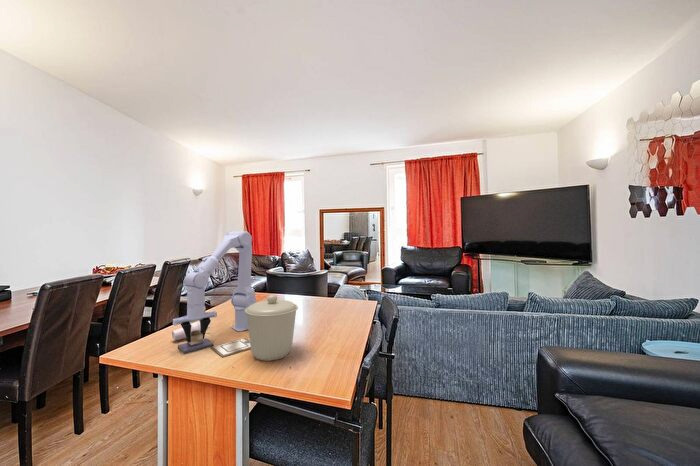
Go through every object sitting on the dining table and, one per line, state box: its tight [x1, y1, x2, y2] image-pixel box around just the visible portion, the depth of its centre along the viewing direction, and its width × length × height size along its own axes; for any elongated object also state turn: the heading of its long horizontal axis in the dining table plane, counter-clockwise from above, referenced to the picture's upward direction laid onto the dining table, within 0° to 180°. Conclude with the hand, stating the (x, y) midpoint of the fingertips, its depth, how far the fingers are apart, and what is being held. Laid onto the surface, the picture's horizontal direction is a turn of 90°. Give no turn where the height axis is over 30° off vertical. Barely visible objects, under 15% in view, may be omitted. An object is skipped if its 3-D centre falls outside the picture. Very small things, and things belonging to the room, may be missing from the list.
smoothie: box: [171, 320, 212, 341], centre depth 113 cm, size 6×6×14 cm
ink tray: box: [177, 337, 214, 355], centre depth 103 cm, size 10×8×1 cm
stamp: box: [186, 330, 204, 347], centre depth 103 cm, size 4×4×5 cm
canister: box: [245, 294, 299, 361], centre depth 97 cm, size 18×18×21 cm
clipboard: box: [210, 337, 251, 359], centre depth 103 cm, size 14×11×1 cm
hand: (195, 339), depth 103 cm, fingers closed on stamp, 4 cm apart
